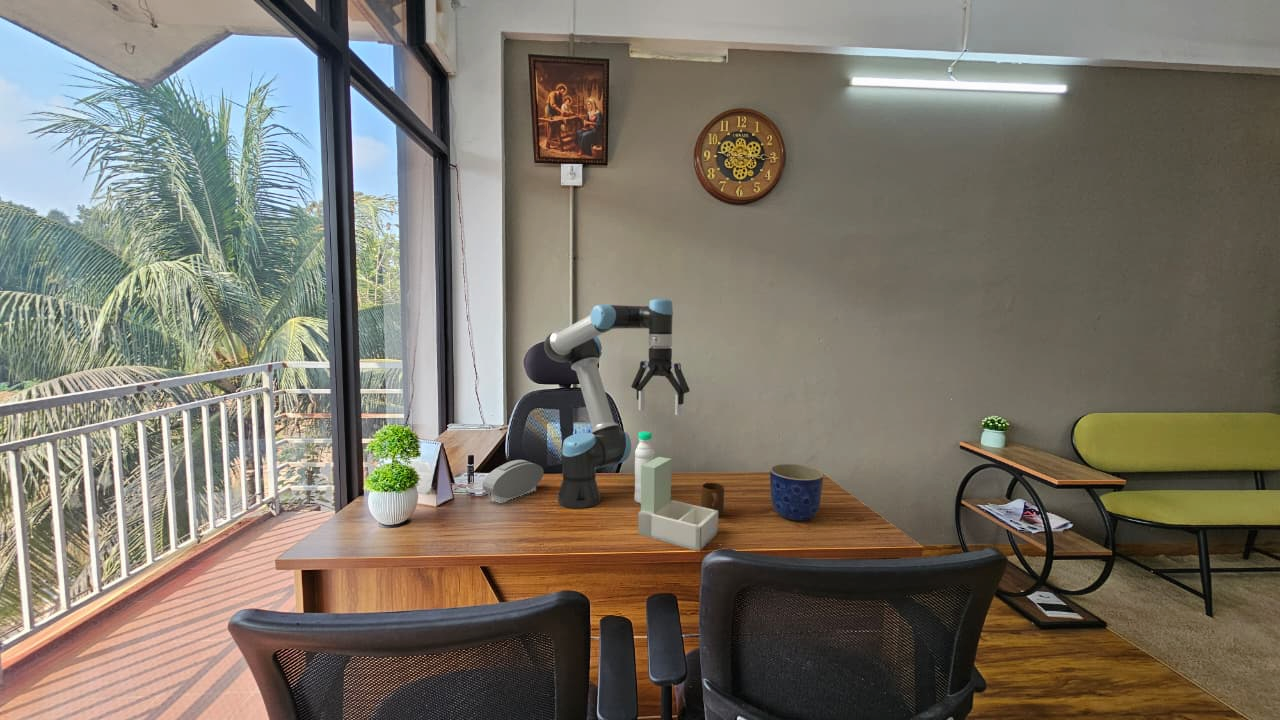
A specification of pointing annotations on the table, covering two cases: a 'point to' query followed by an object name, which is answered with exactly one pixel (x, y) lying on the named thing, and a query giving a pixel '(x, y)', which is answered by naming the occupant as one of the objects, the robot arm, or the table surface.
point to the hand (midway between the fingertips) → (659, 412)
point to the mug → (713, 497)
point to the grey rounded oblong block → (512, 480)
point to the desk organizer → (680, 525)
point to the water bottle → (642, 460)
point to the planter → (796, 490)
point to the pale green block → (655, 484)
